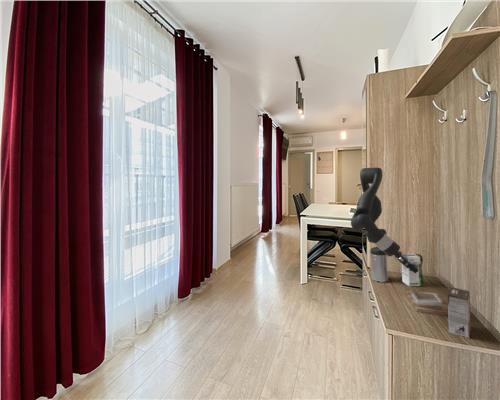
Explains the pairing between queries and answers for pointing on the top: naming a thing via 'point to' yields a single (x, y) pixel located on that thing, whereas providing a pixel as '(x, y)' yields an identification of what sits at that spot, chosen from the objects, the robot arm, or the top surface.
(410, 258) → the syrup box
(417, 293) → the socket collar
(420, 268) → the coffee jar
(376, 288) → the top surface
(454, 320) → the coffee box
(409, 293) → the carrier board
